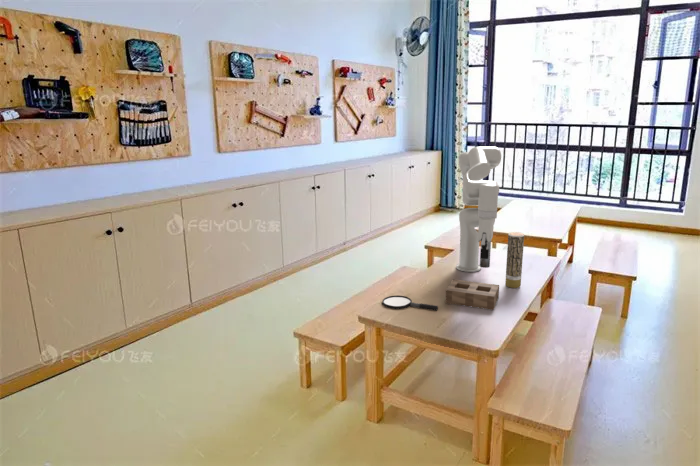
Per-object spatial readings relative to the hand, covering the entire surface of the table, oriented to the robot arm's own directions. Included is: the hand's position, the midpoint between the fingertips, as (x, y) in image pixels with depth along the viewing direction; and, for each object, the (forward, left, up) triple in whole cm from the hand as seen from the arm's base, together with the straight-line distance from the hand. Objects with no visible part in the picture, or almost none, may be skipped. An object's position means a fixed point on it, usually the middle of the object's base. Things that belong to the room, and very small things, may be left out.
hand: (485, 256), depth 202 cm
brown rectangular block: (0, -5, -20) cm, 21 cm away
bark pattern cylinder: (-24, +9, -21) cm, 33 cm away
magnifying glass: (+15, -28, -21) cm, 38 cm away
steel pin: (0, 0, -4) cm, 4 cm away
